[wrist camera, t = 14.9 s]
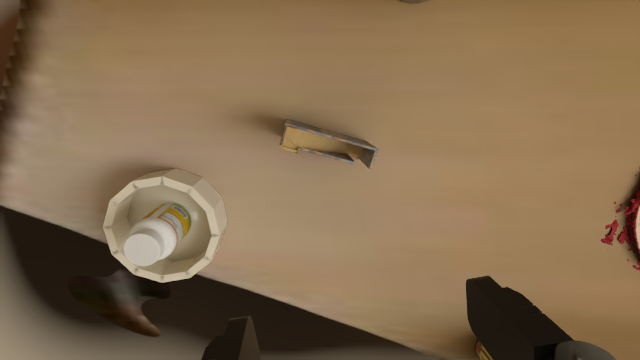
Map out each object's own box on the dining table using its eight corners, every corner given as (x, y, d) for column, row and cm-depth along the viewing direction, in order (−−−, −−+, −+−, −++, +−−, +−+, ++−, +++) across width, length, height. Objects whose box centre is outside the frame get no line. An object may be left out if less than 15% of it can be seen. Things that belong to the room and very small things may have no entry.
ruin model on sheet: (281, 140, 47) (277, 150, 38) (287, 118, 46) (284, 124, 37) (359, 161, 48) (374, 176, 39) (365, 141, 48) (382, 151, 38)
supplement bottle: (153, 237, 48) (118, 272, 38) (151, 200, 46) (114, 226, 37) (193, 238, 48) (167, 273, 39) (192, 202, 47) (165, 228, 37)
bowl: (111, 178, 46) (89, 188, 42) (213, 162, 47) (203, 169, 42) (140, 270, 50) (123, 289, 45) (235, 254, 50) (228, 271, 45)
